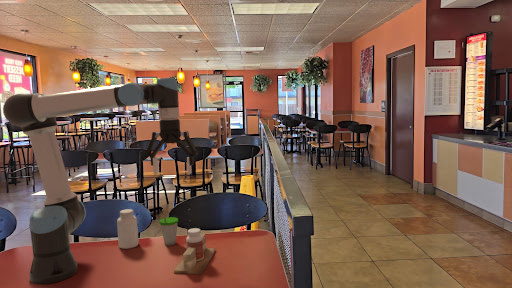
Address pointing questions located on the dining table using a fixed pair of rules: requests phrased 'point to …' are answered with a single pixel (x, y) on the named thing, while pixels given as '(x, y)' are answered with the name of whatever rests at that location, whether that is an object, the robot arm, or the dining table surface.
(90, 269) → the dining table surface
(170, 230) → the cup
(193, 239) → the pill bottle
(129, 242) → the pill bottle
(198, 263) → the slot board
